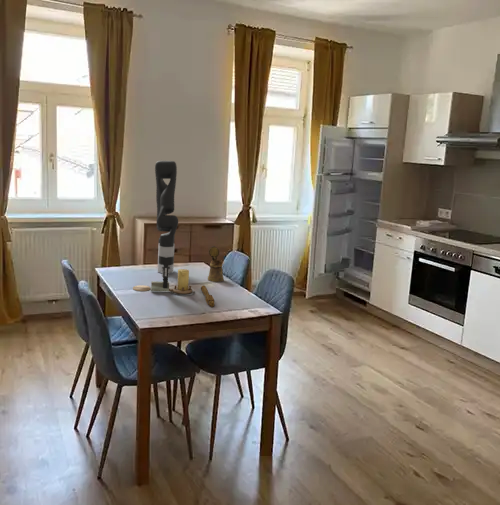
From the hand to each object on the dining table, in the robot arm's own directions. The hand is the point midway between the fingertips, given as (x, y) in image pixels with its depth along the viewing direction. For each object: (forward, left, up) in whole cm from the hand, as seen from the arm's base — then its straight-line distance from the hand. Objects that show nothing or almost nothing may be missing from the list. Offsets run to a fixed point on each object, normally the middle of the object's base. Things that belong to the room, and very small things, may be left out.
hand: (165, 287), depth 279 cm
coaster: (-8, -12, -3) cm, 15 cm away
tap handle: (+6, +21, -4) cm, 22 cm away
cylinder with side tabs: (-5, +9, -1) cm, 10 cm away
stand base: (-3, +9, -3) cm, 10 cm away
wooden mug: (-32, +28, -3) cm, 43 cm away
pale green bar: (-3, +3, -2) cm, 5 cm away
